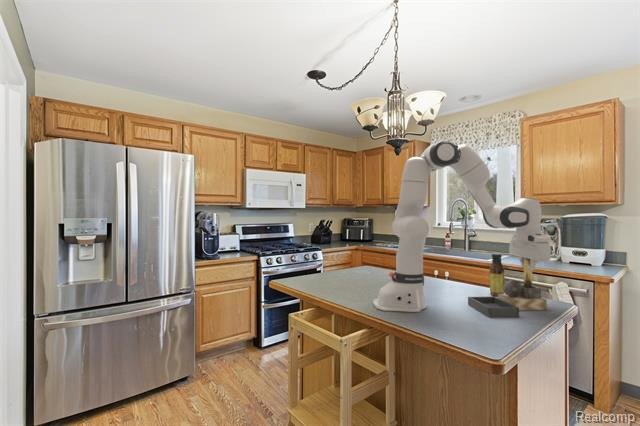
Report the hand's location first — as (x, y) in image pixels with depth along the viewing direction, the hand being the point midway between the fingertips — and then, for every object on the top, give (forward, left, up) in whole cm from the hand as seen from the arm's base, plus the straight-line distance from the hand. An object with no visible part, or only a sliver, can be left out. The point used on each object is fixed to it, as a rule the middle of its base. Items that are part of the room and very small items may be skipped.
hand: (527, 268), depth 132 cm
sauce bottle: (-3, +17, -16) cm, 24 cm away
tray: (-19, -5, -16) cm, 25 cm away
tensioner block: (-3, 0, -16) cm, 16 cm away
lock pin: (0, 0, -7) cm, 7 cm away
